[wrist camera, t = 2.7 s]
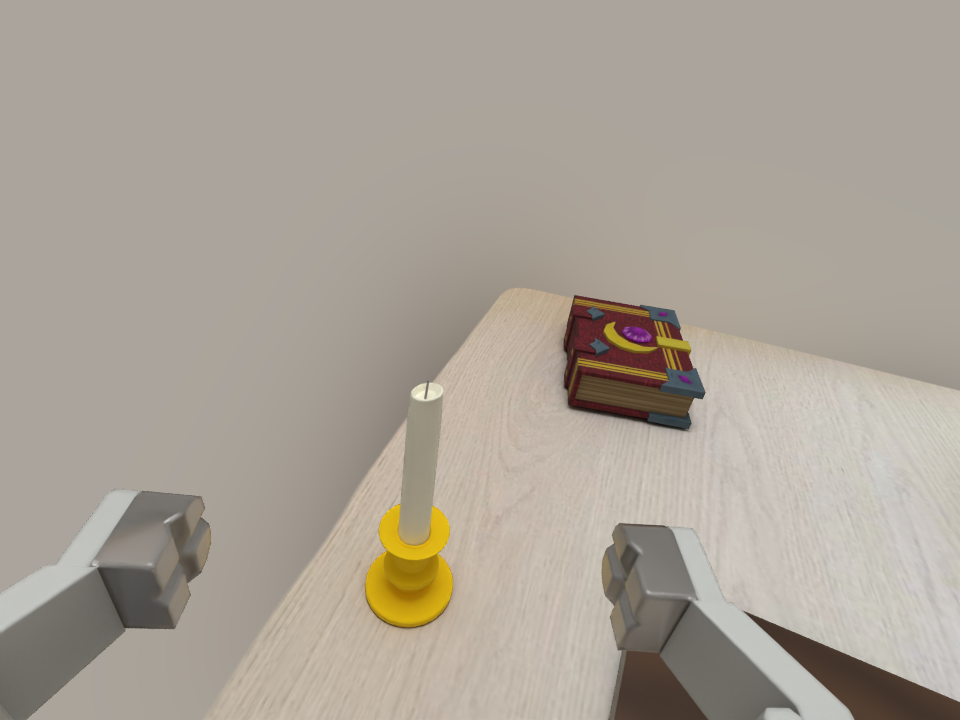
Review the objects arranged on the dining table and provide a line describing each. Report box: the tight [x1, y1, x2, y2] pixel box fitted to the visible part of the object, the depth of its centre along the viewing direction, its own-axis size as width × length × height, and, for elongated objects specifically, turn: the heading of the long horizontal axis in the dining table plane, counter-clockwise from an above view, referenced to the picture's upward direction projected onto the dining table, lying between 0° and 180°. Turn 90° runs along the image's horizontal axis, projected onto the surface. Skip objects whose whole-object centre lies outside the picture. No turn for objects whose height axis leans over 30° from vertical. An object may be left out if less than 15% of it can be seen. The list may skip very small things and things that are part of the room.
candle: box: [365, 381, 453, 627], centre depth 28 cm, size 5×5×16 cm
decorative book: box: [564, 295, 706, 429], centre depth 54 cm, size 11×16×5 cm
